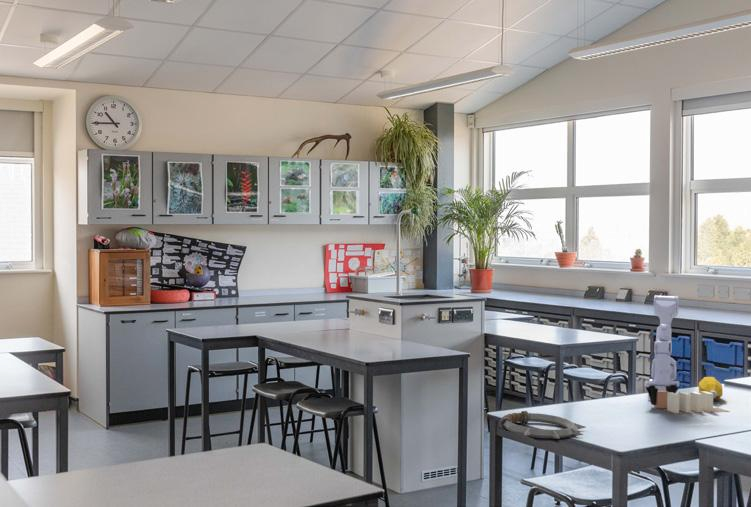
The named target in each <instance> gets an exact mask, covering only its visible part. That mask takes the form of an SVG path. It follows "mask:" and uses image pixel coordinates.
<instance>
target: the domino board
mask: <svg viewBox="0 0 751 507" xmlns="http://www.w3.org/2000/svg"><path fill="white" fill-rule="evenodd" d="M659 409H660V411H664V412H666V413H668V414H672V415H677V414H678V415H679V414H680V415H682V414H707V413H708V414H710V413H731V411H729V410H726V409H723V408H720V407H713V412H708V411H705V410H702V412H696V411H693V410H690V412H683V411H680V410H679V413H674V412H671V411H668V410H667V408H659Z"/></svg>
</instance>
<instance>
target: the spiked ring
mask: <svg viewBox="0 0 751 507" xmlns="http://www.w3.org/2000/svg"><path fill="white" fill-rule="evenodd" d="M529 422H531V423H532V422H533V423H543V424H549V425H554V424H555V426H559V427H562V429H561V428H560V429H559V428H558V429H547V428H536V427H535V428H534V427H528V426H524V425H519V424H515V423H522V424H528V423H529ZM498 426H499V428H500V429H501V430H503V431H508V432H510V433H513V434H515V435H520V436H523V437H528V438H535V439H555V440H556V439H564V438H568V437H576V436H584V434H583V433H581V432H579V430H581V429H585V428H587V427H586V426H585V425H581V424H578V423H575V422H573V421H571V420H569V419H567V418H564V417H560V416H556V415H552V414H545V413H539V412H538V413H534V412H533V413H532V412H528V411H527V410H521V412H512V413H508V414H506V415H503V416H502V417H501V418H500V419H499V421H498Z"/></svg>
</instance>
